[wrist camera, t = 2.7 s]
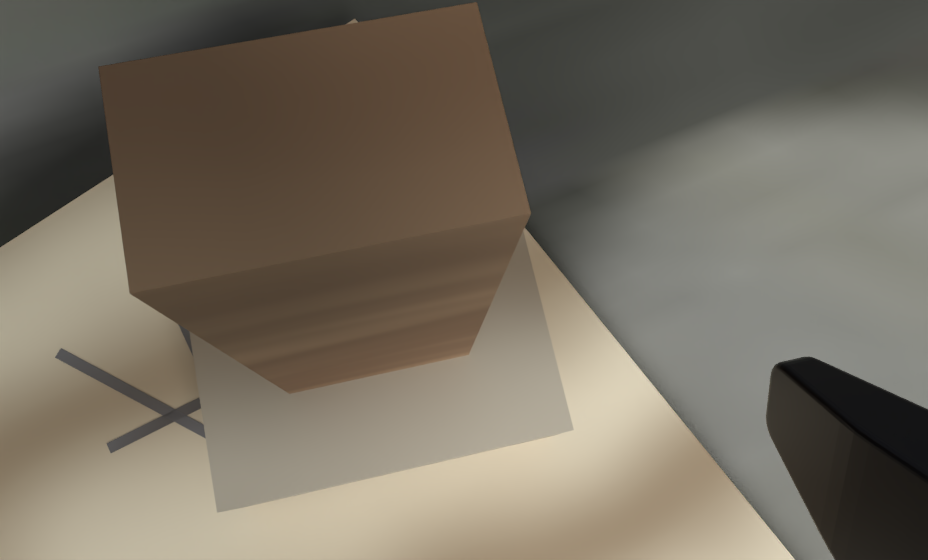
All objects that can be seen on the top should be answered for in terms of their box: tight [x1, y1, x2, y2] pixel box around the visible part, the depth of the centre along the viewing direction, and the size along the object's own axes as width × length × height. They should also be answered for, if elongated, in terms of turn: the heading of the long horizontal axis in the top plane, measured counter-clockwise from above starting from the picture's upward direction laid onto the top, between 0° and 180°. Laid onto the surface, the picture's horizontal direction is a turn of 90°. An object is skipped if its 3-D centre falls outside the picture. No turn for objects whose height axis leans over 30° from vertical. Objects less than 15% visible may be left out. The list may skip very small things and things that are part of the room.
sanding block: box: [99, 2, 574, 513], centre depth 13 cm, size 6×7×12 cm
